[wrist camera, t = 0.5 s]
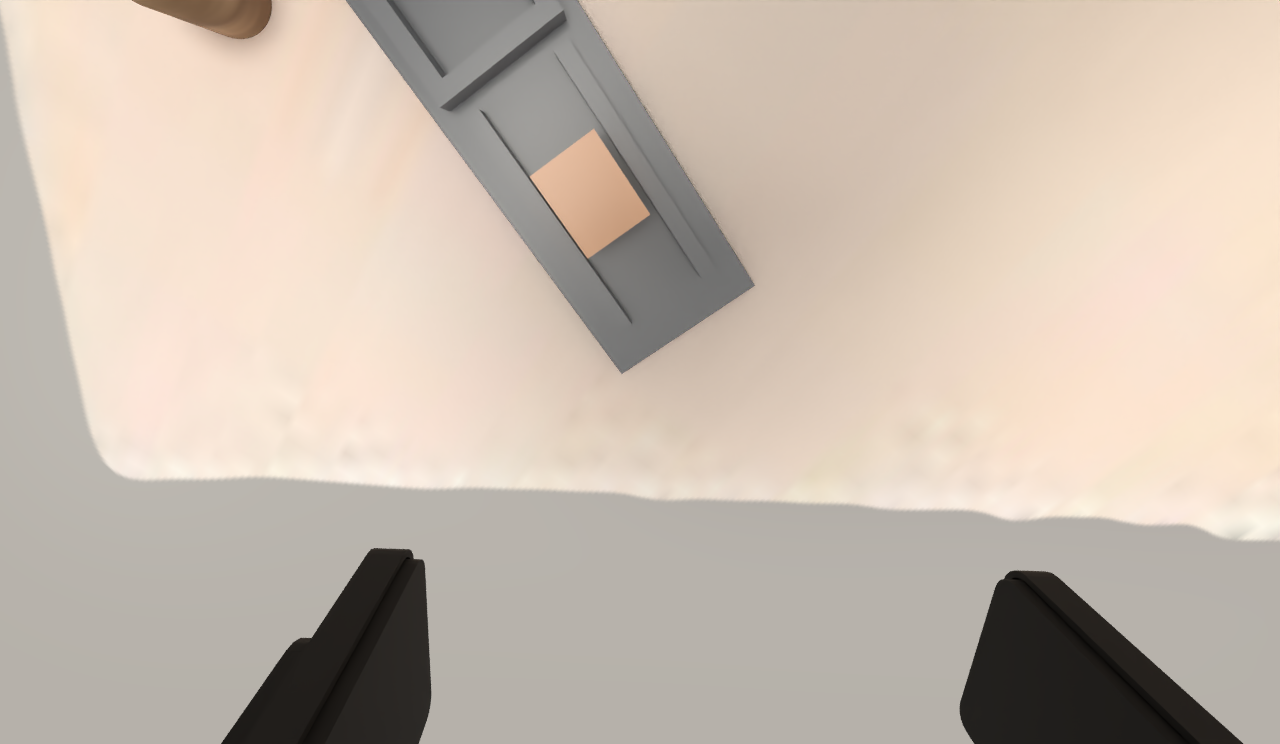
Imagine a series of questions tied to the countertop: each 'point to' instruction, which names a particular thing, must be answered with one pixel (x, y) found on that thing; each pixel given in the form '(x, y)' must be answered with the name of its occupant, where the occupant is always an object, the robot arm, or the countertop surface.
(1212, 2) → the countertop surface
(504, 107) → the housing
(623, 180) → the cardboard brown cuboid
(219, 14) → the brown round pin
